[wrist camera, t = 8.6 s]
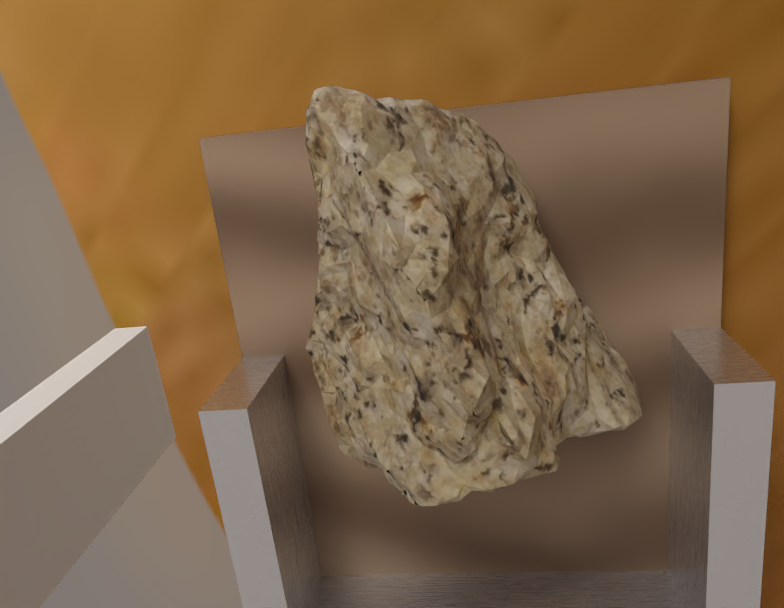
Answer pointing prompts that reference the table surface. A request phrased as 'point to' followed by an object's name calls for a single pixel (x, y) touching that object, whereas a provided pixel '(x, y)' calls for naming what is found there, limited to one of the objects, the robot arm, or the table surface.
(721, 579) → the cradle rails
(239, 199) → the cradle board
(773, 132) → the table surface
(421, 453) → the rock
